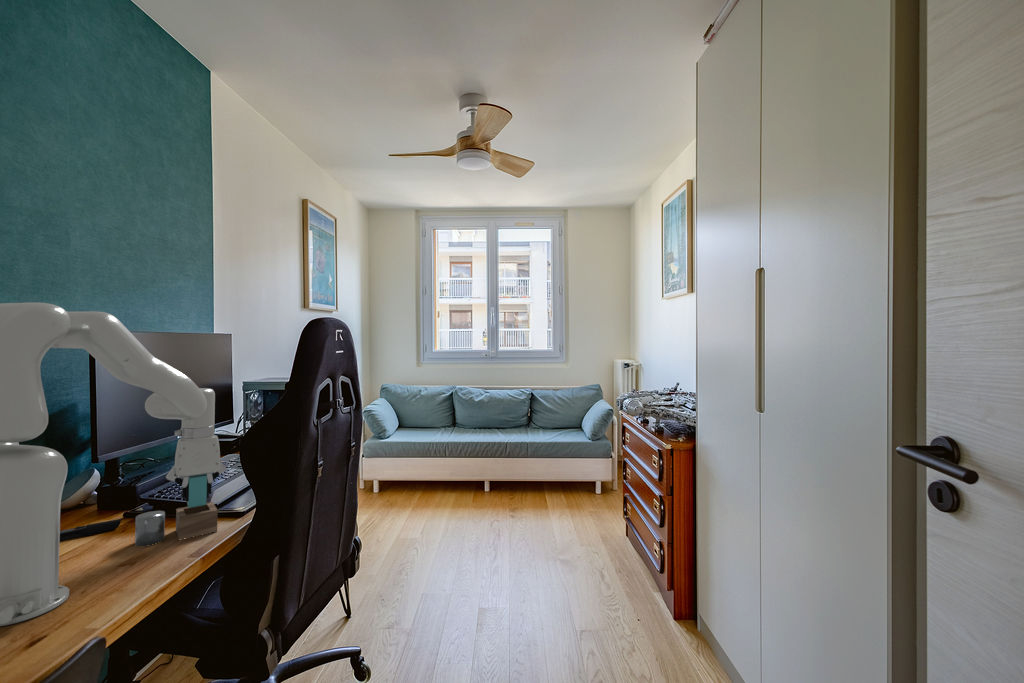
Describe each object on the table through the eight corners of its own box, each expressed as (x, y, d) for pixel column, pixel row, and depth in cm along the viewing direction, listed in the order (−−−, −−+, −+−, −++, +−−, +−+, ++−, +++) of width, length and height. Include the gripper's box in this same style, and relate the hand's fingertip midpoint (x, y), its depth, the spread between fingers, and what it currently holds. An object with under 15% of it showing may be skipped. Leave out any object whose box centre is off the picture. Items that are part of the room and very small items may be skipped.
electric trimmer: (121, 531, 123) (121, 520, 123) (40, 547, 112) (41, 534, 113) (121, 527, 126) (121, 516, 126) (42, 542, 115) (43, 530, 115)
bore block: (217, 531, 122) (217, 510, 122) (178, 540, 116) (179, 517, 116) (212, 522, 128) (212, 501, 128) (175, 530, 123) (176, 508, 123)
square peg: (206, 504, 122) (206, 475, 122) (188, 507, 120) (189, 478, 120) (204, 500, 125) (205, 472, 125) (187, 503, 123) (187, 475, 123)
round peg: (165, 542, 115) (165, 515, 116) (135, 549, 111) (135, 521, 112) (163, 534, 120) (164, 509, 120) (134, 541, 116) (135, 514, 116)
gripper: (161, 438, 114) (159, 509, 114) (235, 431, 125) (234, 495, 125) (159, 434, 120) (157, 501, 120) (230, 427, 131) (229, 489, 131)
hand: (196, 497), depth 122 cm, fingers closed on square peg, 3 cm apart
